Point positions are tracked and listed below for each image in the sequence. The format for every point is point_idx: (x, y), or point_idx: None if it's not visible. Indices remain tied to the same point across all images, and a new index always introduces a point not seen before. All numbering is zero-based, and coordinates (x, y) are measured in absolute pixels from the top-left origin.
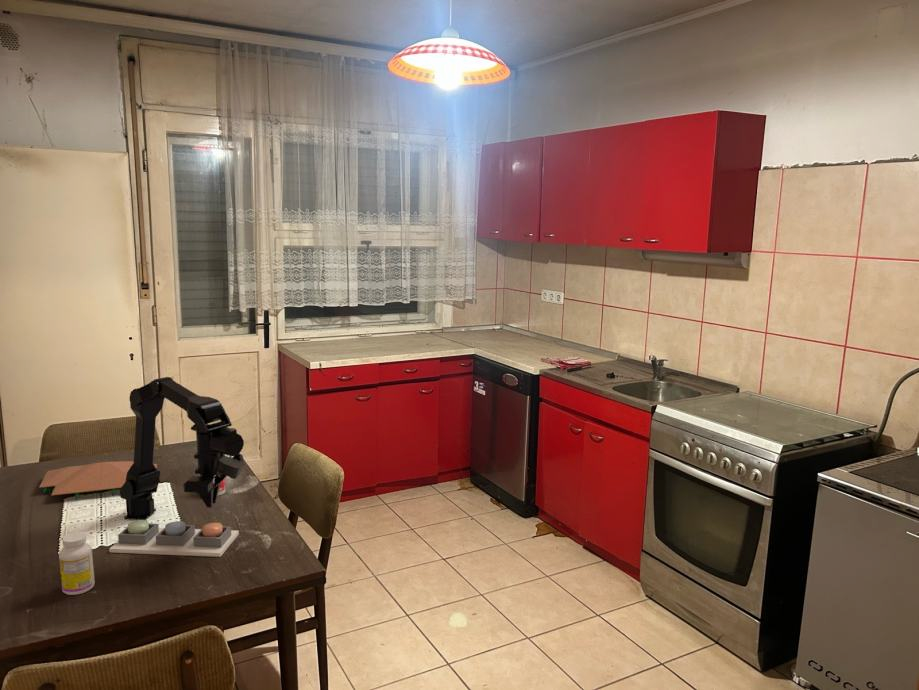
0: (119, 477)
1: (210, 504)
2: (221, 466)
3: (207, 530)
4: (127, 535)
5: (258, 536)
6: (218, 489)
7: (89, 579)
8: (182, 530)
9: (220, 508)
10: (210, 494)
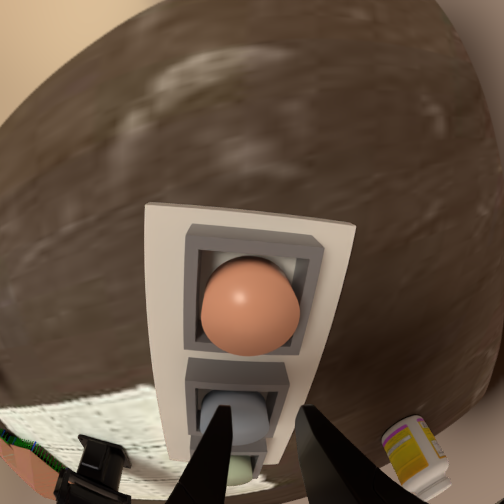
0: (44, 477)
1: (329, 423)
2: None
3: (294, 326)
4: (260, 469)
5: (172, 110)
6: (193, 493)
7: (424, 427)
8: (250, 402)
9: (8, 316)
10: (397, 489)
